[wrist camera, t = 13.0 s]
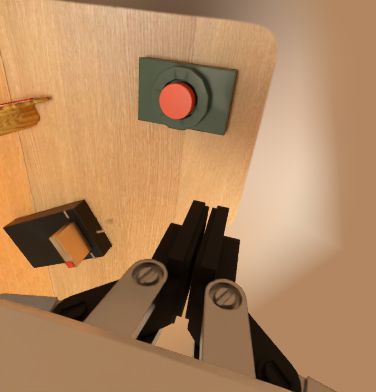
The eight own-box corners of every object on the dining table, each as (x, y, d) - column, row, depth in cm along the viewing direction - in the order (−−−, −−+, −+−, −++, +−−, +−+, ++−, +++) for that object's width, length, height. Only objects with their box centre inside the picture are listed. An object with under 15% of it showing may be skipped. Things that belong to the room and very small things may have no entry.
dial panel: (98, 195, 43) (87, 204, 40) (126, 243, 46) (117, 255, 44) (15, 218, 51) (1, 227, 48) (44, 258, 54) (33, 269, 52)
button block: (237, 70, 29) (234, 72, 26) (226, 130, 33) (222, 139, 29) (146, 56, 31) (132, 57, 27) (144, 116, 34) (132, 123, 31)
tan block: (67, 222, 43) (47, 239, 39) (74, 220, 42) (55, 237, 38) (85, 250, 45) (68, 269, 41) (92, 248, 45) (75, 268, 41)
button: (197, 84, 27) (193, 86, 26) (193, 118, 29) (189, 121, 28) (165, 79, 28) (160, 81, 27) (163, 113, 30) (158, 116, 28)
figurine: (-12, 106, 40) (-61, 116, 34) (51, 94, 36) (8, 102, 30) (0, 130, 41) (-45, 144, 35) (61, 121, 38) (23, 134, 32)
